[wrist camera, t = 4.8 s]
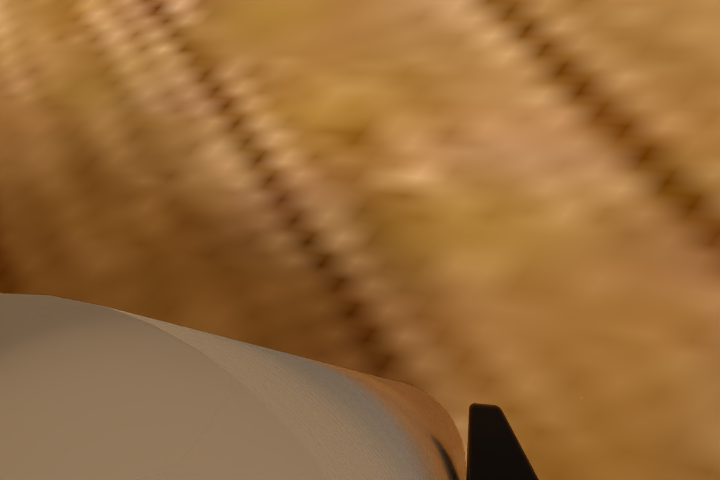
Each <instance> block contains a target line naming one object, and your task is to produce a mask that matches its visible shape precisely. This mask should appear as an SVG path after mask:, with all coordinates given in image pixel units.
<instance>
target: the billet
mask: <svg viewBox="0 0 720 480" xmlns="http://www.w3.org/2000/svg"><path fill="white" fill-rule="evenodd" d="M0 480H466V460H465V452H464V447H463V443H462V440H461V437H460V434H459V432H458V429H457V427H456V426H455V424H454V422H453V420H452V419H451V417H450V416H449V414H448V413H447V411H446V410H445V409H444V408H443V407H442V406H441V405H440V404H439V403H438V402H437V401H436V400H435V399H434V398H433V397H431V396H430V395H428V394H427V393H425V392H424V391H422V390H420V389H418V388H416V387H414V386H411V385H408V384H406V383H402V382H398V381H394V380H390V379H386V378H382V377H378V376H375V375H371V374H367V373H363V372H359V371H355V370H351V369H347V368H343V367H339V366H336V365H332V364H328V363H324V362H320V361H316V360H312V359H308V358H304V357H300V356H297V355H293V354H289V353H285V352H281V351H277V350H273V349H269V348H265V347H261V346H258V345H254V344H250V343H246V342H242V341H238V340H234V339H230V338H226V337H222V336H219V335H215V334H211V333H207V332H203V331H199V330H195V329H191V328H187V327H183V326H180V325H176V324H172V323H168V322H164V321H160V320H156V319H152V318H148V317H144V316H141V315H137V314H133V313H129V312H125V311H121V310H117V309H113V308H109V307H105V306H102V305H97V304H92V303H87V302H82V301H77V300H72V299H66V298H61V297H56V296H51V295H33V294H9V293H0Z"/></svg>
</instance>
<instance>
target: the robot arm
mask: <svg viewBox="0 0 720 480" xmlns="http://www.w3.org/2000/svg"><path fill="white" fill-rule="evenodd" d="M466 480H539V479H538V477H537V476H536V474H535V472H534V470H533V468H532V466H531V464H530V462H529V460H528V459H527V457H526V455H525V453H524V451H523V449H522V447H521V445H520V443H519V442H518V440H517V438H516V436H515V434H514V432H513V430H512V428H511V426H510V425H509V423H508V421H507V419H506V417H505V415H504V413H503V411H502V410H501V409H500V407H498V406H496V405H488V404H478V403H473V404H471V405H470V407H469V424H468V446H467V472H466Z"/></svg>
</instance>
